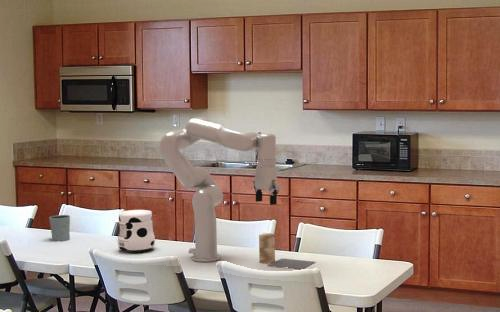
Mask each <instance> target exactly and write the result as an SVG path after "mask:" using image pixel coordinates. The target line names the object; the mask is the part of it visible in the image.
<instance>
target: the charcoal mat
mask: <svg viewBox="0 0 500 312" xmlns="http://www.w3.org/2000/svg"><path fill="white" fill-rule="evenodd" d="M315 263H316V261H311V260H303V259H293V258H280V259H278V260H275V261H274V262H272V263H270V264H269V263H268V264H267V265H266V266H267V267H272V266H276V267H275V268H281V267H288V268H287V269H291V268H294V270H300V269H303V270H304V269H307V268H308V267H309V266H311V265H314V264H315Z"/></svg>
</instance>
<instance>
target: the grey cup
mask: <svg viewBox="0 0 500 312" xmlns="http://www.w3.org/2000/svg"><path fill="white" fill-rule="evenodd" d="M70 217H71V216H70V215H68V214H60V215H59V214H57V215H51V216H49V218H48V219H49V224H50V231H51V232H50V233H51V240H53V242H57V241H60V242H67V241H69V240H70V236H71V235H70V232H71V231H70V224H71V218H70Z"/></svg>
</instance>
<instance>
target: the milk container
mask: <svg viewBox="0 0 500 312" xmlns="http://www.w3.org/2000/svg"><path fill="white" fill-rule="evenodd" d="M118 213H119V214H118V236H117V245H118V249H119V250H121V251H124V252H127V253H142V252H146V251H150V250H152V249H153V248H154V247H155V243H156V242H155V241H156V238H155V233H154V230H153V228H154V227H153V213H152V210H147V209H130V210H123V211H120V212H118Z"/></svg>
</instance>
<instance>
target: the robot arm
mask: <svg viewBox="0 0 500 312" xmlns="http://www.w3.org/2000/svg"><path fill="white" fill-rule="evenodd" d="M201 140H203V141H208V142H211V143H216V144H218V145H220V146H222V147H224V148H227V149H231V150H234V151H240V152H249V151H254V150H255V151H256V150H257V165H256V167H255V168H256V169H255V173H254V180H253V181H252V183H253V184H252V185H253V188H254V192H255V202H257V203H258V202H263V191H267V192H268V191H269V194H270V195H269V204H270V205H271V206H274V205H277V203H278V202H277V199H278V197H277V196H278V194H279V192H280V188H281V185H280V184H279V183H278V177H277V175H278V174H277V168H276V167H277V166H276V155H277V154H276V152H277V151H276V149H277V148H276V147H277V146H276V145H277V143H276V142H277V141H276V140H277V138H276V135H275V134H273V133H259V132H251V131H250V132H246V133H245V132H244V133H243V132H238V131H235V130H231V129H228V128H227V127H226V126H225V125H224V124H222V123H218V122H215V121H211V120H209V118H206V117H204V116H201V117H200V116H198V117H192V118H190V119H188V121H187V122H186V123H185V127H183V128H181V129H178V130H177V129H176V130H170V131H168V132H166V133H165V134H163V136H162V137H161V139H160V142H159V153H160V156H161V157H162V159H163V161H164V162H165V163H166V165H167V166H168V167H169V169H170V170H171V172H172V173H173V175H174V176H175V177H176V178H177V180H178V181H179V183H180V184H181V185H182V186H183V188H185V189H186V190H189V191H191V190H195V189H196V191H195V192H194V193H193V195H192V199H191V200H192V201H191V203H192V209H193V215H194V216H193V217H194V218H193V219H194V242H195V243H194V245H195V246H194V247H190V248H189V250H188V254H193V256H191V258H192V259H191V260H192V261H195V262H199V263H201V262H202V263H209V262H210V263H211V262H216V261H219V260H220V259H221V258H222V255H220V254H219V253H218V238H217V236H218V235H217V234H218V233H217V232H218V231H217V216H216V210H215V207H217V206H219V205H220V204H221V203H222V202H223V199H224V194H223V191H222V189H221V188H220V185H218V184H217V182H216V180H215V179H214V178H213V176H212V175H211V173H210V172H209V171H208V170H207V169H205V167H202V166H193V164H191V162H190V161H189V159H188V158H187V156H186V155H185V154H183V153H182V152H181V150H182V149H186V148H188V147H190V146H192V145H194V144H195V143H197V142H198V141H201Z"/></svg>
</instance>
